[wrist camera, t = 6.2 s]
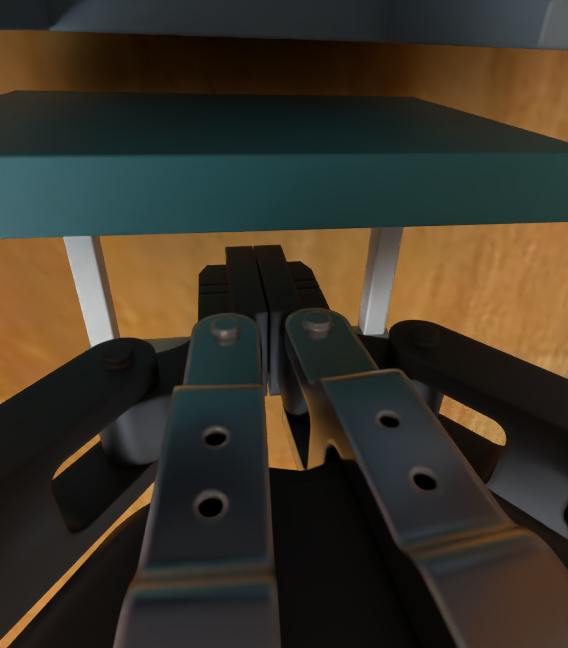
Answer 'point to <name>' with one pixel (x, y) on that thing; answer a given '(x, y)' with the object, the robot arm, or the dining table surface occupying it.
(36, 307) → the dining table surface
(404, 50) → the dining table surface
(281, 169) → the drawer
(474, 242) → the dining table surface
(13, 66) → the dining table surface
